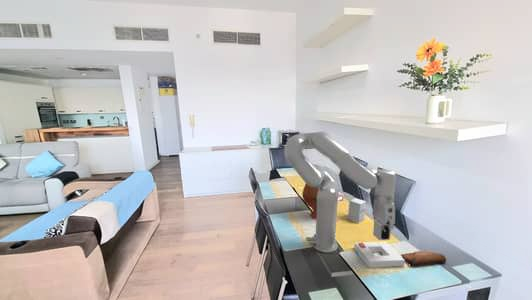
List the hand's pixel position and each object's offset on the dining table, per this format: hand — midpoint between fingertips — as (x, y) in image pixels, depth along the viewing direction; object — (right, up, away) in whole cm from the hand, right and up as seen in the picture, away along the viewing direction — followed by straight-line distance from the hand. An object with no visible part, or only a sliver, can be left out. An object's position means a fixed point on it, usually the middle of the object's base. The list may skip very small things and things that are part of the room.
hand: (381, 234), depth 102 cm
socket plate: (-1, -11, +2) cm, 11 cm away
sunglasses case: (+19, -12, +1) cm, 22 cm away
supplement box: (+4, -5, +38) cm, 39 cm away
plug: (0, -1, 0) cm, 1 cm away
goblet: (-20, -4, +42) cm, 47 cm away
